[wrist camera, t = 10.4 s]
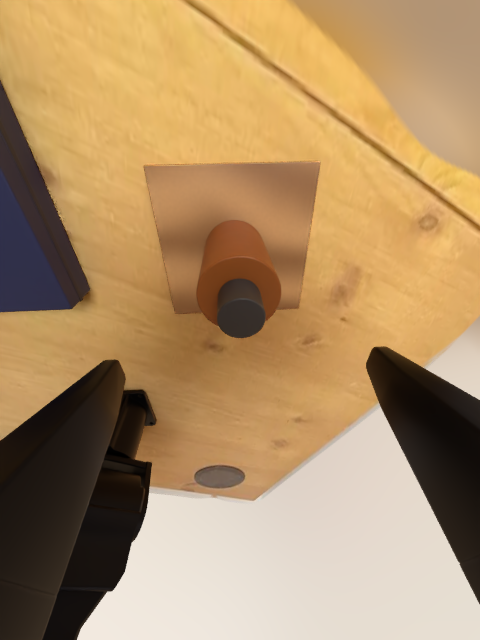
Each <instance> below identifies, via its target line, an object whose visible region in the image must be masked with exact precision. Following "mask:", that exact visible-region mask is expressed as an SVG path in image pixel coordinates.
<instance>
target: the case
mask: <svg viewBox="0 0 480 640" xmlns="http://www.w3.org/2000/svg"><path fill="white" fill-rule="evenodd" d="M89 291H90V287H89V285H88V283H87V281H86V278H85V276H84V274H83V271H82V269H81V267H80V264H79V262H78V260H77V257H76V255H75V253H74V250H73V248H72V246H71V244H70V241H69V239H68V237H67V234H66V232H65V230H64V227H63V225H62V223H61V220H60V218H59V216H58V213H57V211H56V209H55V207H54V204H53V202H52V200H51V197H50V195H49V193H48V190H47V188H46V186H45V183H44V181H43V179H42V176H41V174H40V172H39V169H38V167H37V165H36V163H35V160H34V158H33V156H32V153H31V151H30V149H29V146H28V144H27V142H26V139H25V137H24V135H23V132H22V130H21V128H20V126H19V123H18V121H17V119H16V116H15V114H14V112H13V109H12V107H11V105H10V102H9V100H8V98H7V95H6V93H5V91H4V89H3V86H2V84H1V82H0V312H15V311H39V310H63V309H72V308H73V307H74V306H75V305H76V304H77V303H78V302H79V301H82V300H83V297H84V296H85V295H86V294H87V293H88V292H89Z"/></svg>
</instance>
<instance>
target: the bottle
mask: <svg viewBox="0 0 480 640" xmlns="http://www.w3.org/2000/svg"><path fill="white" fill-rule="evenodd" d="M196 298H197V303H198V305H199V308H200V310H201V311H202V313H203V314H204V315H205V317H206V318H207V319H208V320H210V321H211V322H212V323H214V324H215V325H217V326H219V327H220V329H221V330H222V331H223V332H224V333H225V334H227V335H229V336H231V337H235V338H246V337H250V336H252V335H254V334H256V333H257V332H259V331H260V330H261V328H262V327H263V325H264V323H265V321H267V320H268V319H269V318H270V317H271V316H272V315H273V314H274V312H275V311H276V309H277V307H278V305H279V303H280V300H281V284H280V280H279V278H278V275H277V273H276V271H275V268H274V266H273V263H272V261H271V259H270V256H269V254H268V252H267V249H266V247H265V244H264V242H263V240H262V237H261V235H260V234H259V232H258V231H257V230H256V229H255V228H254V227H253V226H252V225H250V224H249V223H247V222H244V221H240V220H229V221H225V222H223V223H221V224H219V225H217V226H216V227H215V228H214V229H213V230H212V231H211V232H210V234H209V236H208V238H207V240H206V244H205V249H204V254H203V259H202V264H201V269H200V274H199V279H198V284H197V290H196Z"/></svg>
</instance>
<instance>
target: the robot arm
mask: <svg viewBox="0 0 480 640" xmlns="http://www.w3.org/2000/svg"><path fill="white" fill-rule="evenodd" d="M366 369H367V372H368V374H369V377H370V380H371V382H372V385H373V388H374V390H375V393H376V396H377V398H378V401H379V403H380V406H381V408H382V410H383V412H384V415H385V416H386V418H387V420H388V422H389V424H390V426H391V428H392V430H393V432H394V434H395V436H396V438H397V440H398V442H399V444H400V446H401V448H402V450H403V452H404V454H405V456H406V458H407V460H408V462H409V464H410V466H411V468H412V470H413V472H414V474H415V476H416V478H417V480H418V482H419V484H420V486H421V488H422V490H423V492H424V494H425V496H426V498H427V500H428V502H429V504H430V506H431V508H432V510H433V512H434V514H435V516H436V518H437V520H438V522H439V524H440V526H441V528H442V530H443V532H444V534H445V536H446V538H447V540H448V542H449V544H450V546H451V548H452V550H453V552H454V554H455V556H456V558H457V560H458V562H459V563H460V566H461V568H462V570H463V572H464V574H465V576H466V578H467V580H468V582H469V584H470V586H471V588H472V590H473V592H474V594H475V596H476V598H477V600H478V602H479V604H480V400H478V399H477V398H475V397H473V396H471V395H470V394H468V393H466V392H464V391H463V390H461V389H459V388H458V387H456V386H454V385H452V384H450V383H449V382H447V381H445V380H444V379H442V378H440V377H438V376H436V375H435V374H433V373H431V372H429V371H428V370H426V369H424V368H423V367H421V366H419V365H417V364H416V363H414V362H412V361H411V360H409V359H407V358H405V357H404V356H402V355H400V354H398V353H397V352H395V351H393V350H391V349H390V348H388V347H384V346H383V347H374V348H373V349H372V350H371V353H370V355H369V358H368V360H367V363H366ZM125 380H126V378H125V374H124V372H123V369H122V367H121V365H120V363H119V361H118V360H105V361H103V362H101V363H100V364H99V365H98V366H96V367H95V368H94V369H92V370H91V371H90V372H89V373H87V374H86V375H85V376H83V377H82V378H81V379H80V380H78V381H77V382H76V383H74V384H73V385H72V386H70V387H69V388H68V389H67V390H65V391H64V392H63V393H61V394H60V395H59V396H58V397H56V398H55V399H54V400H52V401H51V402H50V403H49V404H47V405H46V406H45V407H43V408H42V409H41V410H40V411H38V412H37V413H36V414H34V415H33V416H32V417H31V418H29V419H28V420H27V421H25V422H24V423H23V424H21V425H20V426H19V427H18V428H16V429H15V430H14V431H12V432H11V433H10V434H9V435H7V436H6V437H5V438H3V439H2V440H1V441H0V640H77V637H78V635H79V632H80V629H81V627H82V626H83V625H84V623H85V622H86V620H87V619H88V618H89V616H90V615H91V613H92V612H93V611H94V609H95V608H96V606H97V605H98V604H99V602H100V601H101V599H102V598H103V597H104V595H105V594H106V593H107V591H113V590H114V588H115V587H116V585H117V584H118V582H119V581H120V579H121V577H122V575H123V574H124V572H125V569H126V564H127V560H128V555H129V551H130V547H131V543H132V542H133V541H134V540H135V538H136V537H137V535H138V533H139V531H140V528H141V526H142V523H143V520H144V517H145V513H146V509H147V504H148V495H149V486H150V477H151V467H152V462H143V461H139V460H135V457H136V454H137V450H138V447H139V443H140V440H141V436H142V433H143V429H144V426H153V425H155V424H156V418H155V415H154V413H153V410H152V408H151V405H150V403H149V400H148V398H147V395H146V393H145V392H144V391H142V390H137V391H123V390H124V386H125Z"/></svg>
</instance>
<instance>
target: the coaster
mask: <svg viewBox="0 0 480 640" xmlns="http://www.w3.org/2000/svg"><path fill="white" fill-rule="evenodd" d="M319 169H320V161H304V162H260V163H217V164H173V165H144V170H145V174H146V179H147V184H148V189H149V193H150V198H151V203H152V207H153V212H154V217H155V221H156V226H157V231H158V236H159V240H160V245H161V250H162V254H163V259H164V264H165V269H166V273H167V278H168V283H169V287H170V292H171V297H172V301H173V306H174V311H175V314H185V313H202V311H201V310H200V308H199V305H198V303H197V298H196V290H197V284H198V279H199V274H200V269H201V264H202V259H203V254H204V249H205V244H206V240H207V238H208V236H209V234H210V232H211V231H212V230H213V229H214V228H215V227H216V226H217V225H219V224H221V223H223V222H225V221H229V220H240V221H244V222H247V223H249V224H250V225H252V226H253V227H254V228H255V229H256V230H257V231H258V232H259V234H260V235H261V237H262V240H263V242H264V244H265V247H266V249H267V252H268V254H269V256H270V259H271V261H272V263H273V266H274V268H275V271H276V273H277V275H278V278H279V280H280V284H281V300H280V303H279V305H278V307H277V309H298V308H299V302H300V295H301V289H302V282H303V276H304V269H305V262H306V256H307V249H308V242H309V236H310V229H311V222H312V216H313V209H314V202H315V196H316V189H317V182H318V176H319ZM277 309H276V310H277Z"/></svg>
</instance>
